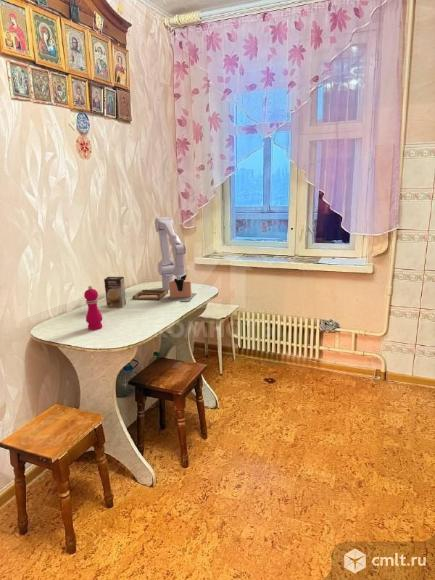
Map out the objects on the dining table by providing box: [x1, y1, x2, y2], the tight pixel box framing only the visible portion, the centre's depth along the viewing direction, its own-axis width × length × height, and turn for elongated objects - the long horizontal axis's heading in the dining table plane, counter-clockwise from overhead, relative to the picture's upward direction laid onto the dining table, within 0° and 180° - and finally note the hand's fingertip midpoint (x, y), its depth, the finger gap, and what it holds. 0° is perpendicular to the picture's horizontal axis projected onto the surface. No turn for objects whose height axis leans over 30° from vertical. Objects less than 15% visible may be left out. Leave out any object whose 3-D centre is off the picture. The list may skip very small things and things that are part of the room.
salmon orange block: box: [169, 279, 192, 298], centre depth 226 cm, size 4×12×9 cm, turn 87°
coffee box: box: [103, 276, 127, 309], centre depth 212 cm, size 9×6×16 cm
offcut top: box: [138, 295, 158, 298], centre depth 225 cm, size 4×10×1 cm, turn 85°
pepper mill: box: [83, 285, 103, 331], centre depth 180 cm, size 7×7×20 cm
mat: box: [165, 292, 198, 303], centre depth 226 cm, size 16×14×1 cm
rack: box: [132, 289, 169, 301], centre depth 229 cm, size 14×16×2 cm
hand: (181, 289), depth 226 cm, fingers open, 7 cm apart
